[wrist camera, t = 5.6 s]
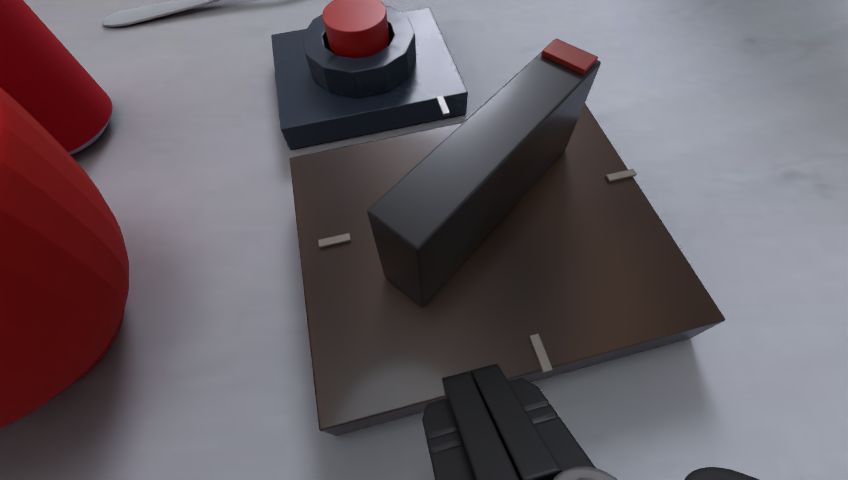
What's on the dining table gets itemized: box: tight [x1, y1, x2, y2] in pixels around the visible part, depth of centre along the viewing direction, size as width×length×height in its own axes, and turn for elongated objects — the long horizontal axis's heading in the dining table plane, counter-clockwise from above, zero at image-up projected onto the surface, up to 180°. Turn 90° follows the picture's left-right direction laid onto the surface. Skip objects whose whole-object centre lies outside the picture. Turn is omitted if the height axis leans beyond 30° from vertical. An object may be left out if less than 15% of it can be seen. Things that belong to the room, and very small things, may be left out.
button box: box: [271, 6, 468, 149], centre depth 25 cm, size 11×9×4 cm
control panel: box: [290, 95, 725, 436], centre depth 20 cm, size 16×15×3 cm
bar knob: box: [367, 39, 601, 307], centre depth 16 cm, size 11×2×5 cm, turn 139°
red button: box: [322, 0, 389, 59], centre depth 23 cm, size 4×4×2 cm
